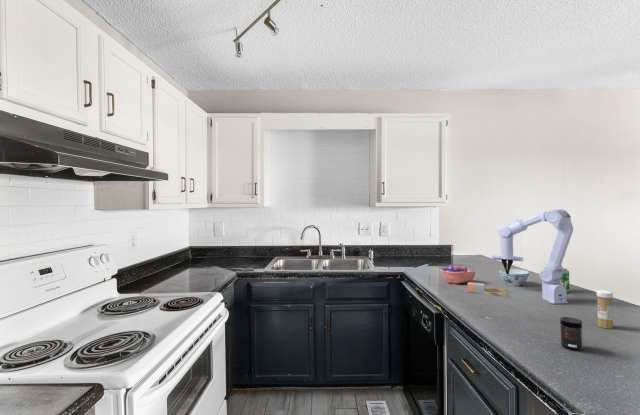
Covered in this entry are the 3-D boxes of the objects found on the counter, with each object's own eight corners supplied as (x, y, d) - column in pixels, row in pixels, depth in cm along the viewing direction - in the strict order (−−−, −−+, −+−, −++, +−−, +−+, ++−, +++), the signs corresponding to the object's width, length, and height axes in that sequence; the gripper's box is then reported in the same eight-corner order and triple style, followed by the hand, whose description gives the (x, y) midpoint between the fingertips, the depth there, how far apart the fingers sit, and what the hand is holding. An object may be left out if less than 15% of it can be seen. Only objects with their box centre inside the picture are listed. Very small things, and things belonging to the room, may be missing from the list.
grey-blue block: (484, 291, 169) (484, 283, 169) (484, 293, 165) (484, 285, 165) (476, 290, 171) (476, 282, 171) (475, 292, 167) (475, 284, 167)
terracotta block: (476, 290, 171) (476, 282, 171) (475, 292, 167) (475, 284, 167) (468, 289, 173) (468, 282, 173) (467, 291, 169) (467, 284, 169)
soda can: (553, 292, 166) (552, 269, 166) (550, 289, 172) (550, 267, 172) (571, 294, 162) (570, 270, 162) (567, 290, 169) (567, 268, 169)
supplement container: (579, 345, 105) (579, 318, 105) (585, 352, 100) (584, 324, 100) (558, 342, 108) (557, 315, 108) (562, 349, 102) (562, 321, 102)
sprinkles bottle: (594, 324, 122) (593, 290, 122) (604, 324, 122) (604, 289, 122) (605, 329, 117) (605, 293, 117) (617, 328, 118) (616, 292, 118)
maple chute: (508, 292, 168) (508, 288, 168) (508, 299, 156) (508, 295, 156) (467, 288, 178) (467, 284, 178) (464, 294, 166) (464, 290, 166)
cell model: (480, 287, 180) (479, 267, 180) (443, 286, 183) (443, 267, 183) (470, 280, 197) (470, 262, 197) (437, 279, 200) (436, 262, 200)
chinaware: (535, 287, 176) (535, 273, 176) (508, 288, 176) (508, 274, 176) (519, 281, 191) (518, 268, 191) (494, 281, 191) (493, 268, 191)
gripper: (522, 248, 170) (523, 273, 170) (491, 247, 177) (492, 271, 177) (523, 250, 164) (523, 276, 164) (491, 248, 171) (492, 273, 171)
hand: (507, 273), depth 170 cm, fingers closed
